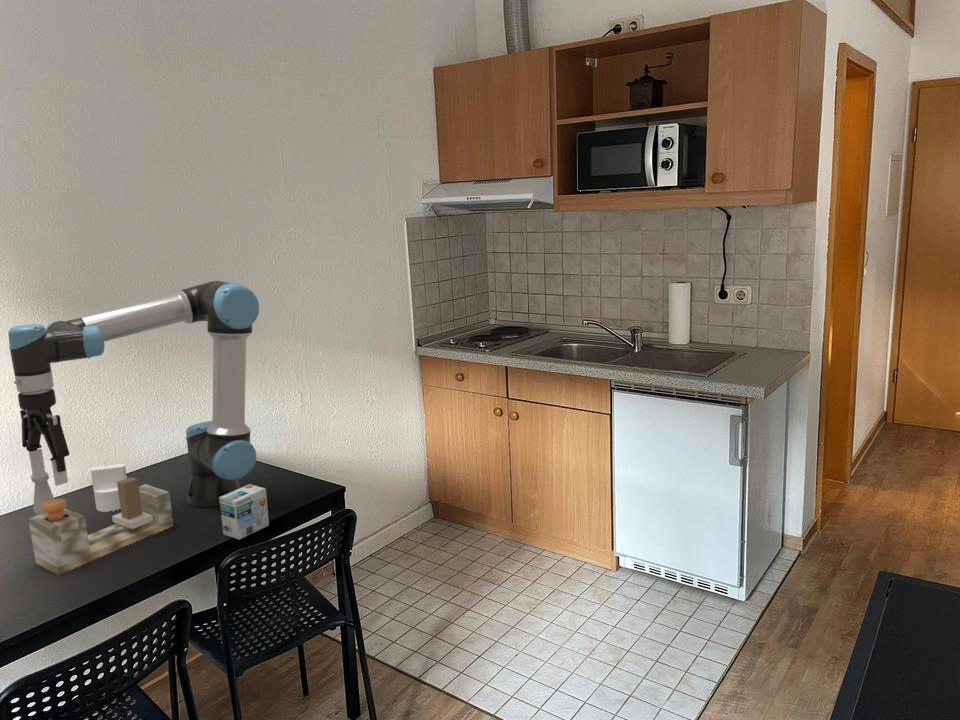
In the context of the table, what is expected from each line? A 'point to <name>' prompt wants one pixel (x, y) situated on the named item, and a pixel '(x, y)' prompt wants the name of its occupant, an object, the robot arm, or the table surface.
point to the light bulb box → (244, 511)
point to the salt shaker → (41, 492)
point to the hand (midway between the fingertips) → (50, 479)
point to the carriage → (130, 505)
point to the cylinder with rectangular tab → (107, 486)
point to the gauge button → (54, 509)
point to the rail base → (73, 547)
